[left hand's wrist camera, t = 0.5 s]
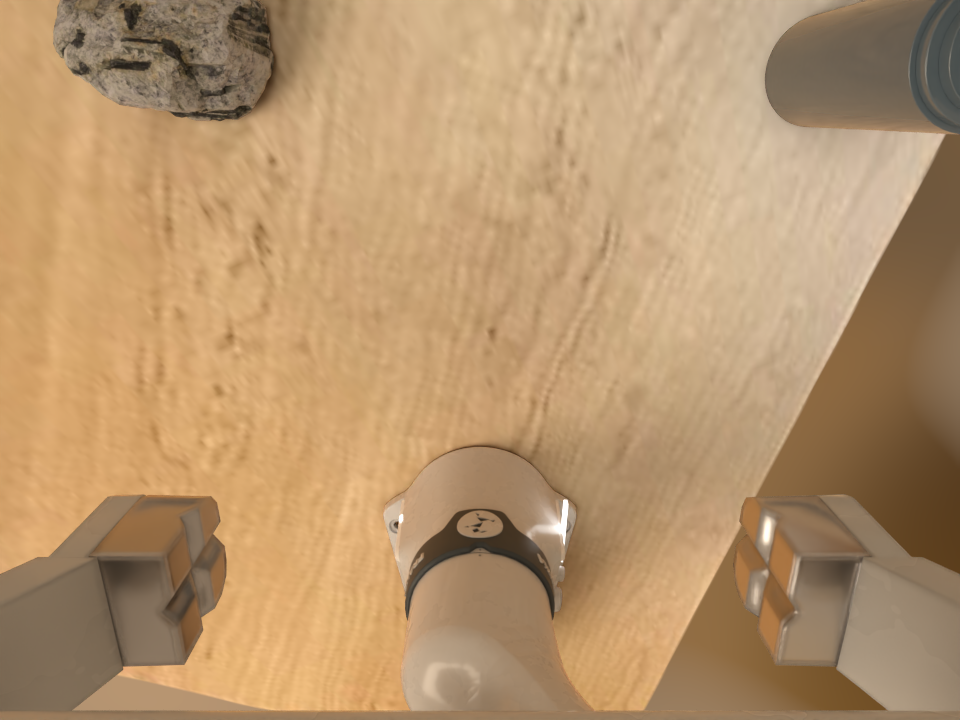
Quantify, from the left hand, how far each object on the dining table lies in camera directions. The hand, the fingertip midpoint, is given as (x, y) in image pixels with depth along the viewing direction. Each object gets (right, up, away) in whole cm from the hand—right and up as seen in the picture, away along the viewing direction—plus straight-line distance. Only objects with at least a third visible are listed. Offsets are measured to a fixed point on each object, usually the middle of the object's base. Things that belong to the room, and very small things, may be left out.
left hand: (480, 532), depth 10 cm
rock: (-23, +27, +41) cm, 54 cm away
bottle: (+26, +25, +42) cm, 55 cm away
